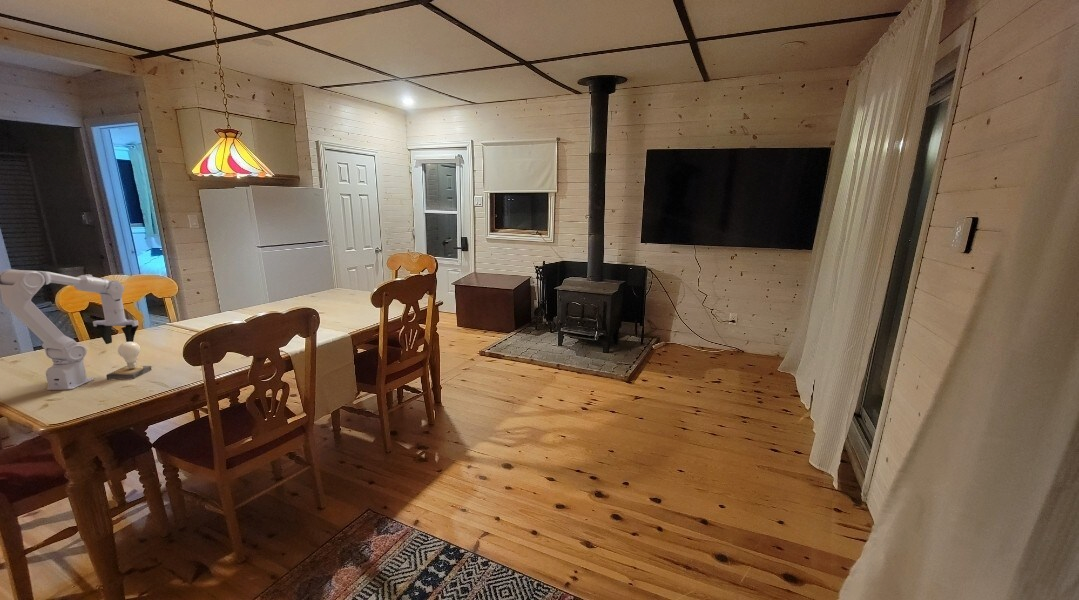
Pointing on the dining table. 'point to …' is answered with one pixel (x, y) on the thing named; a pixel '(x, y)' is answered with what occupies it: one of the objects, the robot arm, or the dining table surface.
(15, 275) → the robot arm
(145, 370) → the charcoal base
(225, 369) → the dining table surface
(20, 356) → the dining table surface
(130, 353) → the lightbulb
